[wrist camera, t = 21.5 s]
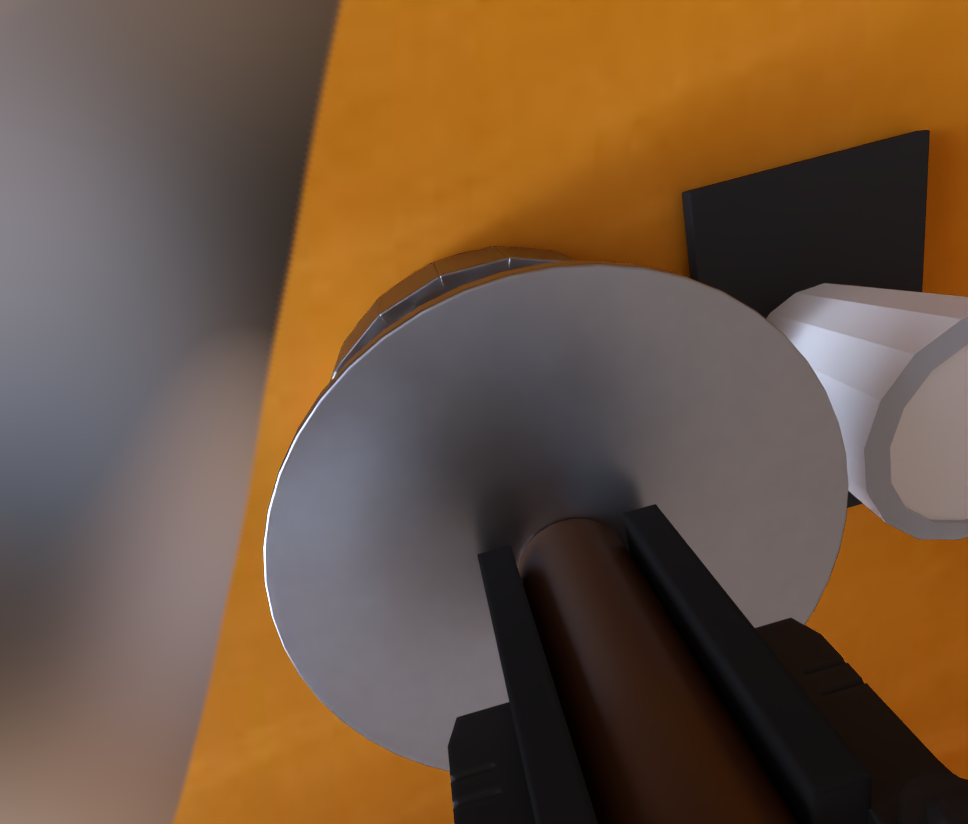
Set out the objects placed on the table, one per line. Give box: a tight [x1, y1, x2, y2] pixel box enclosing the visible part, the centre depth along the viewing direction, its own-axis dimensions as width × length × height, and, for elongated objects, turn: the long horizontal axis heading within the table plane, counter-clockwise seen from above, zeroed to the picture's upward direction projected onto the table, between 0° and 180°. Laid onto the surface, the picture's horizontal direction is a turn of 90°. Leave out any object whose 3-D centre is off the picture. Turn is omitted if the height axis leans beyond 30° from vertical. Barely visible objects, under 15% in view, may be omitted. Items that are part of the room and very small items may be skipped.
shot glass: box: [766, 283, 968, 540], centre depth 19 cm, size 7×7×7 cm
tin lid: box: [263, 260, 848, 824], centre depth 11 cm, size 14×14×8 cm
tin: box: [329, 246, 577, 383], centre depth 21 cm, size 13×13×3 cm
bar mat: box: [682, 130, 930, 508], centre depth 23 cm, size 8×14×1 cm, turn 13°
